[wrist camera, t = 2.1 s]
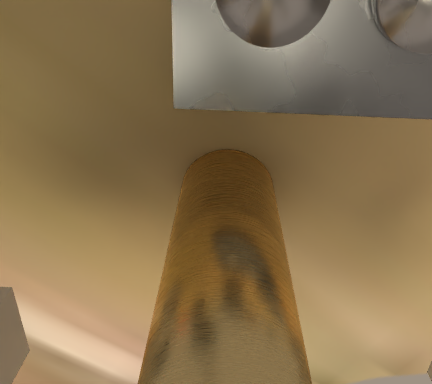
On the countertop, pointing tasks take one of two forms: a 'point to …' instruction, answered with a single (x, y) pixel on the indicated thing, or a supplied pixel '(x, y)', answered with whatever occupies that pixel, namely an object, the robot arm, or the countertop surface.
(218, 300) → the pin
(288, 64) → the chain end
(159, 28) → the countertop surface
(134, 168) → the countertop surface
